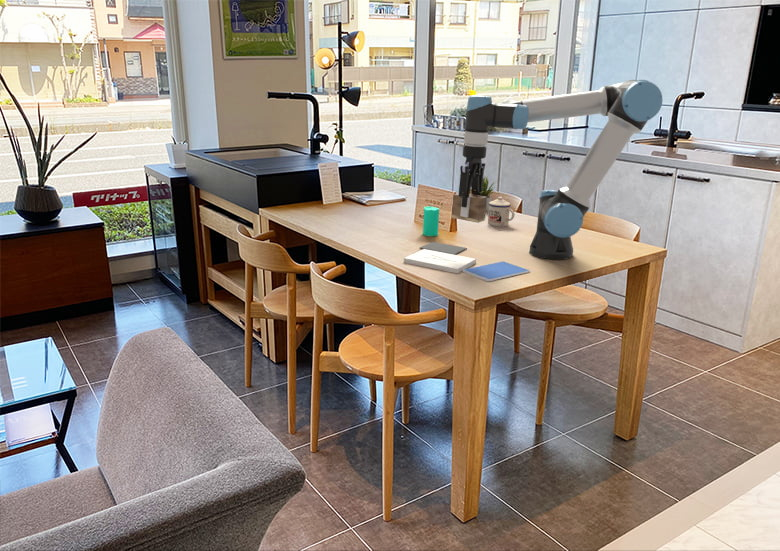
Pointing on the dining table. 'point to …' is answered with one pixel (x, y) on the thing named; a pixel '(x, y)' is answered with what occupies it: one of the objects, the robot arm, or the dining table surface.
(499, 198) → the teacup with lid
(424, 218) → the candle
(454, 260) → the marked board
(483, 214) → the sanding block
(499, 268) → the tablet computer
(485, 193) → the house plant
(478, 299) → the dining table surface
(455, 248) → the mat
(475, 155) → the robot arm
